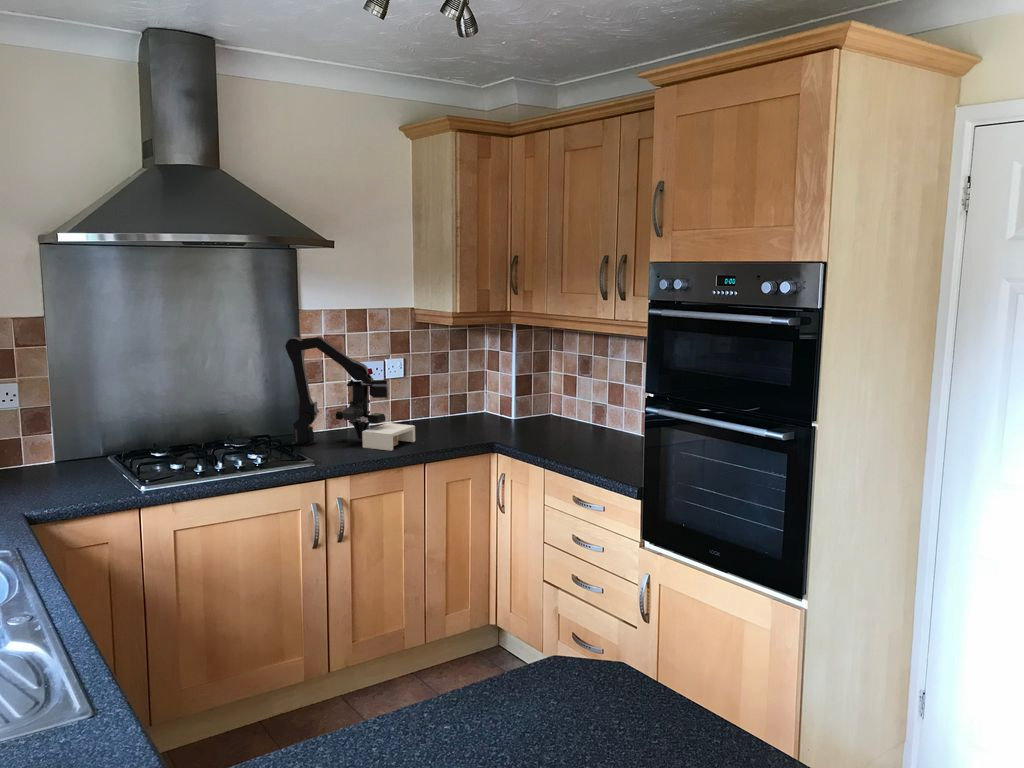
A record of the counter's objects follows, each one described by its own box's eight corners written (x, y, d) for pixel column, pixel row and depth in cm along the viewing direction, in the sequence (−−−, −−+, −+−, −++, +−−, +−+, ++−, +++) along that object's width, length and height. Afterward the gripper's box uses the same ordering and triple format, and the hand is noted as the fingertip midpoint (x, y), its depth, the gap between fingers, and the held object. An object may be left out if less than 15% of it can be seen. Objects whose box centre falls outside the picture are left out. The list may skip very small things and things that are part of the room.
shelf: (362, 447, 302) (362, 431, 302) (388, 438, 318) (387, 423, 317) (390, 450, 298) (390, 434, 297) (415, 441, 313) (415, 425, 312)
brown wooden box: (367, 445, 307) (366, 434, 306) (375, 442, 312) (374, 432, 311) (390, 448, 303) (390, 437, 302) (398, 445, 308) (398, 434, 307)
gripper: (326, 399, 305) (326, 440, 307) (368, 403, 297) (369, 446, 300) (344, 394, 315) (344, 435, 317) (386, 398, 307) (386, 440, 310)
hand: (360, 439), depth 311 cm, fingers closed
